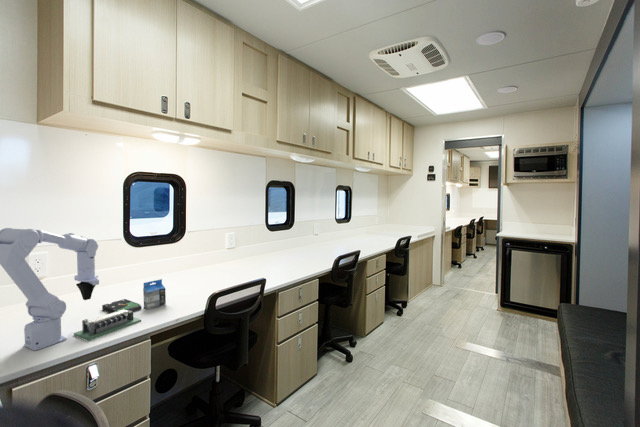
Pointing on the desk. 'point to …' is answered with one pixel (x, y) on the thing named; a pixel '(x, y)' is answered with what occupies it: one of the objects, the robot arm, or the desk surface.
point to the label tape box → (154, 294)
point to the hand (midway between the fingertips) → (86, 299)
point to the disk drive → (121, 306)
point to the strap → (107, 317)
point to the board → (130, 321)
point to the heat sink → (104, 324)
